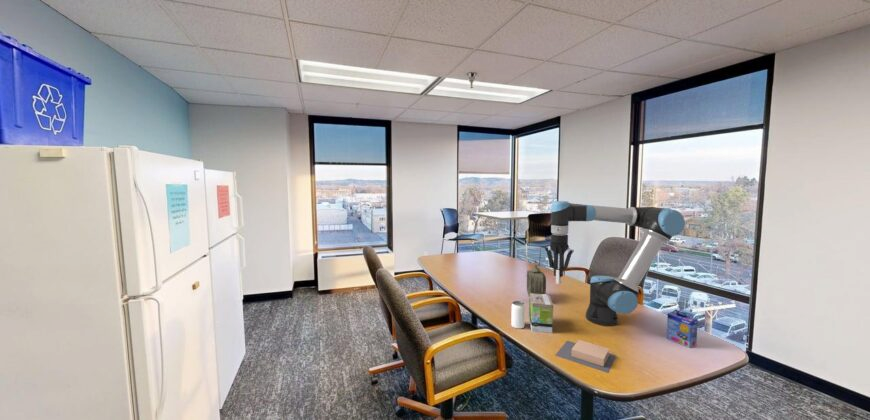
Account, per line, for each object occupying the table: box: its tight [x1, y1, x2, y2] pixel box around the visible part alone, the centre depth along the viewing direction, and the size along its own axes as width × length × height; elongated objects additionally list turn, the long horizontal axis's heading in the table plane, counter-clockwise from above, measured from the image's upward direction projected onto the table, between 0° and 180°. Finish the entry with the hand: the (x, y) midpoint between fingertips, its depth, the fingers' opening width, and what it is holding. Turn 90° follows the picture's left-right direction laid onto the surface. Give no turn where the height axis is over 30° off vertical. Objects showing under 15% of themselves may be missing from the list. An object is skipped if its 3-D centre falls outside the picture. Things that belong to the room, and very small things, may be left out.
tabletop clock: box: [526, 259, 547, 298], centre depth 196 cm, size 14×9×25 cm, turn 172°
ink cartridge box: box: [666, 310, 699, 349], centre depth 146 cm, size 10×6×14 cm, turn 27°
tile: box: [571, 339, 610, 366], centre depth 134 cm, size 3×10×12 cm
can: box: [510, 300, 526, 330], centre depth 163 cm, size 6×6×12 cm
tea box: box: [528, 293, 554, 334], centre depth 162 cm, size 15×10×15 cm
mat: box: [554, 340, 618, 374], centre depth 135 cm, size 20×16×1 cm
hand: (558, 282), depth 154 cm, fingers closed
